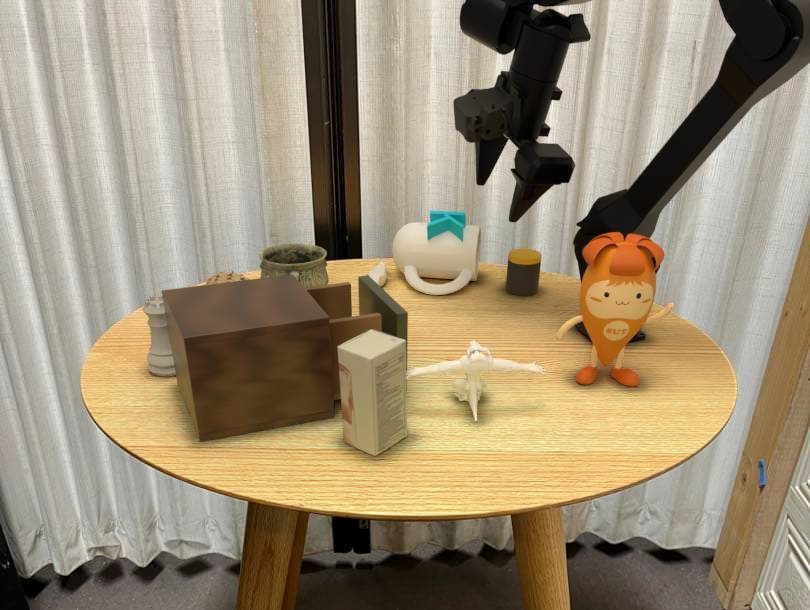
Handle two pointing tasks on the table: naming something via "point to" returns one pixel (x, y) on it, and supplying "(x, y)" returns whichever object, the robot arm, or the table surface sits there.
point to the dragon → (473, 372)
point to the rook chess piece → (159, 338)
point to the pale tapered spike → (379, 274)
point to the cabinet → (250, 355)
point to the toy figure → (616, 299)
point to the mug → (438, 252)
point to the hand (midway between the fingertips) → (495, 202)
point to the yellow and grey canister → (523, 272)
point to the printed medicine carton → (373, 391)
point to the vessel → (295, 263)
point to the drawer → (373, 314)
